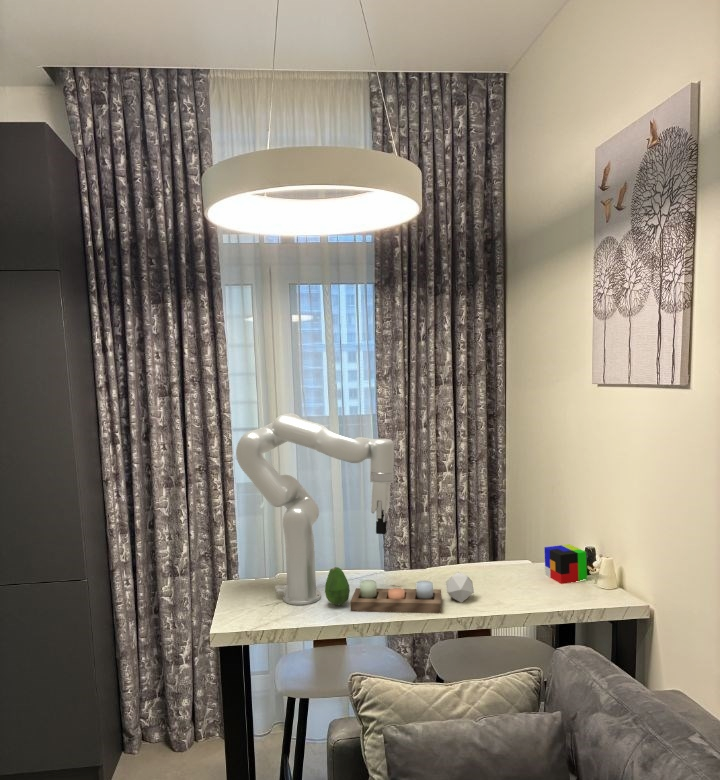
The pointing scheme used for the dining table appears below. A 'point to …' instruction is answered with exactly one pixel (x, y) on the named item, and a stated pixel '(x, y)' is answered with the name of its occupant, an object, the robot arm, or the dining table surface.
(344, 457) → the robot arm
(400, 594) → the button terracotta
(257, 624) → the dining table surface
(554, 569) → the puzzle toy
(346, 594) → the avocado
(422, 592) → the button blue
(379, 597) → the board
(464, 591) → the die
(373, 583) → the button sage
